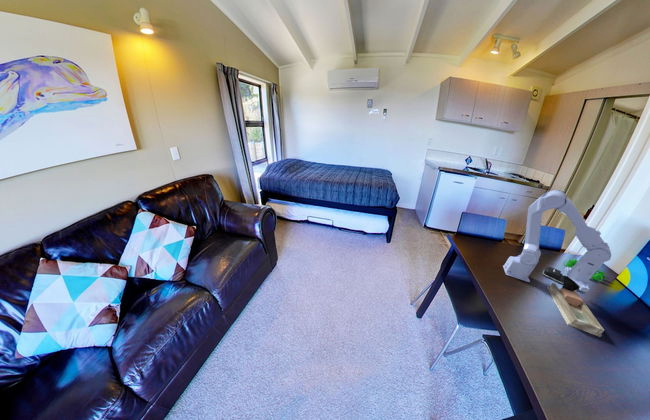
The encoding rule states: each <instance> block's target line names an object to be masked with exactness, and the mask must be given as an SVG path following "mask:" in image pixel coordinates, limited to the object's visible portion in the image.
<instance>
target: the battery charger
mask: <svg viewBox="0 0 650 420" xmlns="http://www.w3.org/2000/svg"><path fill="white" fill-rule="evenodd" d="M561 272H562V271H561V270H559V269H557V268H555V267H552V266H547V267H545V269H544V270H543V271H542V276H543V277H545V278H547V279H549V280H551V281H553V282H556V283H558V284H561V285H562V286H563V282H564V278H563V276H564V274H563V273H561Z"/></svg>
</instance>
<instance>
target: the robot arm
mask: <svg viewBox="0 0 650 420" xmlns="http://www.w3.org/2000/svg"><path fill="white" fill-rule="evenodd" d="M554 209H556V211H558V212H561V213H564V214H565V216H567V218H568V219H569V221H570V222H571V223H572V225H573V227H575V231H574V235H575V236H576V238H577V240H578V241H579V242H580V244H581V245H582V247H583V248H584V249H586V251H585V253H583V255H581V257H580V258H579V259H578V260H577V263H576V264H575V265H574V266H572V267H573V268H570V267H568V266H565V268H564V271H565V272H566V275H563V278H564V282H563V285H562V287H561V288H564V289H567V290H570V291H575V290H576V291H578V290H579V291H581V292H584V293H588V292H589V290H590V286H589V284H591V283H592V281H591V280H590V279H592V278H591V277H593V275H595V274H597V272H596V271H597V270H598V269H599V270H600V268H601V267H602V265H603V264H604V263H605V262H608V261H611V257H612V250H611V249H610V246H609V244H608V242H605V241H604V239H603V238H602V236H600V235H602V233H601V231H600V230H597V229H596V228H594V227H592V226H588V225H587V223H586V221H585V220H584V218H583V216H582V215H581V213H580V211H579V210H578V208H577V206H576V205H575V204H574V203H573V201H572V200H571V198H569V197H568V196H567V194H566V193H565V192H564V191H562V190H560V189H552V190H549V191H547V192H545V193H543V194H542V195H540V197H538V198H537V199H536V200H535V201H534V202H532V203H531V204H530V205H529V206H528V209H527V217H526V219H527V220H526V226H525V236H524V244H523V245H524V246H523V248H522V252H521V253H520V254H518V255H517V256H512V255H510V256H509V257H508V258H507V260H506V262H505V263H504V265H502V267H503V270H504V273H505V275H506V276H510V277H512V278H515V279H518V280H520V281H524V282H527V283H531V279H530V278H529V276H530V275H531V273H532V272H533V271H534V269H535V268H536V266H537V265H538V263H539V259H540V257H541V255H542V252H541V250H540V235H541V227H542V220H543V219H542V218H543V213H545V212H547V211H549V210H554Z"/></svg>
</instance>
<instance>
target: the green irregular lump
mask: <svg viewBox="0 0 650 420" xmlns="http://www.w3.org/2000/svg"><path fill="white" fill-rule="evenodd" d="M577 261H578V260H577V259H576V258H574V259H572V258H569V259H568V260H565V261H564V262H563V264H564V266H565V267H570V268H573V266H574V265H575V264H576V263H577ZM566 262H567V263H566ZM604 276H605V277H604ZM607 277H608V274H607V273H606V272H605V271H601V270H600V268H599V269H598V270H597V271H596V273H595V274H594V275H593V276H592V277H591V278H590V279H592V280H594V281H595V282H597V281H599V282H602V281H603V280H605V279H606V278H607Z"/></svg>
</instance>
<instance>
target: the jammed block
mask: <svg viewBox="0 0 650 420" xmlns="http://www.w3.org/2000/svg"><path fill="white" fill-rule="evenodd" d="M559 290H560V292H561V293H562V295H563V297H564V298H565V300H566V301H567V303H569V304H572V305H574V306H577V307H578V306H579V305H580V304H581V303H582V302H583V301H584V299H581V298H582V297H581V295H580V294H579V293H578V292H577V293H576V292H573V291H570V290H567V289H564V288H562V287H561V288H560V289H559ZM578 294H579V295H578Z"/></svg>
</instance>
